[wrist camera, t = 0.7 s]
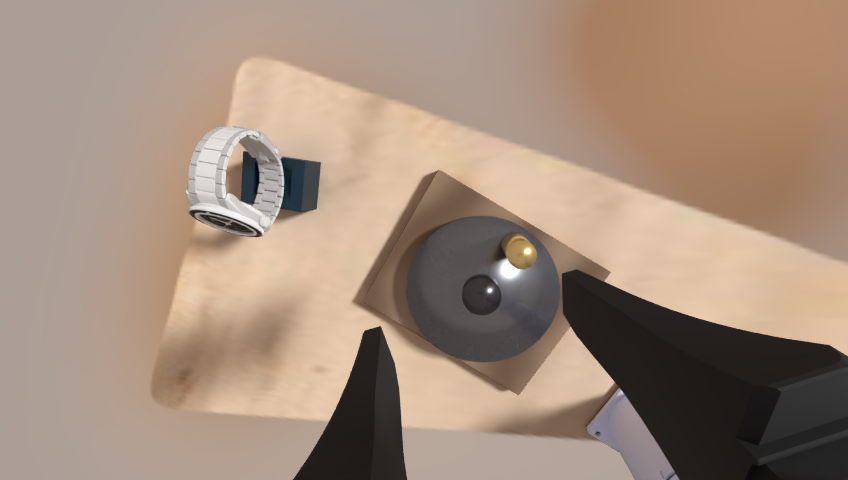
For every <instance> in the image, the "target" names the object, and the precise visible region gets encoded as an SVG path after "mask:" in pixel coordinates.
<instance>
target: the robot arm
mask: <svg viewBox="0 0 848 480" xmlns="http://www.w3.org/2000/svg"><path fill="white" fill-rule="evenodd" d="M562 301H563V315H564V316H565V318H566V320H567V321H568V323H569V324H570V326H571V328H572V329H573V331H574V332H575V334H576V335H577V337H578V338H579V339H580V340H581V342H582V343H583V344H584V345H585V346H586V348H587V349H588V350H589V351H590V353H591V354H592V355H593V356H594V357H595V359H596V360H597V361H598V362H599V363H600V365H601V366H602V367H603V368H604V369H605V371H606V372H607V373H608V374H609V375H610V377H611V378H612V379H613V380H614V381H615V383H616V384H617V385H618V386H619V389H618V390H617V391H616V392H615V393H614V395H613V396H612V397H611V398H610V399H609V401H608V402H607V403H606V404H605V406H604V407H603V408H602V409H601V410H600V412H599V413H598V414H597V415H596V416H595V418H594V419H593V420H592V421H591V423H590V424H589V425H588V426H587V431H588V433H589V434H590V435H591V436H593V437H595V438H596V439H598V440H600V441H601V442H603V443H605V444H606V445H608V446H610V447H611V448H613V449H615V450H617V451H618V452H620V453H621V455H622V457H623V459H624V460H625V462H626V464H627V466H628V468H629V469H630V471H631V473H632V475H633V477H634V478H635V480H848V356H846V355H845V354H843V353H841V352H840V351H838V350H836V349H835V348H833V347H831V346H830V345H824V344H818V343H811V342H805V341H798V340H792V339H785V338H779V337H774V336H769V335H764V334H759V333H754V332H749V331H745V330H740V329H736V328H732V327H728V326H724V325H720V324H716V323H712V322H708V321H705V320H702V319H698V318H695V317H692V316H689V315H685V314H682V313H679V312H676V311H673V310H670V309H667V308H665V307H662V306H659V305H657V304H654V303H652V302H649V301H647V300H644V299H642V298H639V297H637V296H635V295H632V294H630V293H628V292H625V291H623V290H621V289H619V288H616V287H614V286H612V285H610V284H608V283H606V282H604V281H601V280H599V279H597V278H595V277H593V276H591V275H589V274H586V273H584V272H582V271H580V270H577V269H576V270H572V271H569V272H565V273H562ZM596 432H599V433H596ZM293 480H407V476H406V470H405V463H404V453H403V441H402V425H401V409H400V394H399V386H398V380H397V374H396V369H395V363H394V361H393V358H392V355H391V353H390V350H389V347H388V344H387V342H386V339H385V336H384V334H383V331H382V328H381V326H379V327H376V328H373V329H369V330H366V331H364V333H363V336H362V340H361V343H360V347H359V350H358V354H357V357H356V360H355V363H354V365H353V368H352V371H351V374H350V377H349V379H348V382H347V384H346V386H345V389H344V391H343V393H342V396H341V398H340V400H339V403H338V405H337V407H336V409H335V411H334V413H333V415H332V417H331V419H330V421H329V423H328V425H327V427H326V428H325V430H324V432H323V434H322V435H321V437H320V439H319V441H318V442H317V444H316V446H315V447H314V449H313V451H312V452H311V454H310V455H309V457H308V459H307V460H306V462H305V463H304V465H303V466H302V467H301V469H300V470H299V472H298V473H297V475H296V476H295V478H294V479H293Z"/></svg>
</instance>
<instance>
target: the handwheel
mask: <svg viewBox="0 0 848 480" xmlns="http://www.w3.org/2000/svg"><path fill="white" fill-rule="evenodd" d="M406 295H407V302H408V307H409V310H410V313H411V316H412V318H413V320H414V322H415V324H416V325H417V327H418V328H419V330H420V331H421V333H422V334H423V335H424V336H425V337H426V338H427V339H428V340H429V341H430V342H431V343H432V344H433V345H434V346H436V347H437V348H439V349H440V350H442V351H443V352H445V353H447V354H449V355H451V356H454V357H456V358H459V359H463V360H467V361H472V362H495V361H501V360H505V359H509V358H511V357H514V356H517V355H518V354H520V353H522V352H524V351H526V350H527V349H529V348H530V347H532V346H533V345H534V344H535V343H536V342H537V341H538V340H540V339H541V337H542V336H543V335H544V334H545V333H546V331H547V330H548V328H549V327H550V325H551V324H552V321H553V319H554V317H555V315H556V312H557V308H558V305H559V298H560V283H559V276H558V272H557V269H556V266H555V264H554V261H553V259H552V257H551V255H550V254H549V252H548V251H547V249H546V248H545V247H544V245H543V244H542V243H541V242H540V241H539V240H538V239H537V238H536V237H535V236H534V235H533V234H532V233H530V232H529V231H528V230H526V229H525V228H523V227H522V226H520V225H518V224H516V223H514V222H512V221H509V220H506V219H503V218H499V217H494V216H484V215H482V216H470V217H464V218H461V219H457V220H454V221H452V222H450V223H448V224H445V225H444V226H442V227H441V228H439V229H437V230H436V231H435V232H434V233H432V234H431V235H430V236H429V237H428V238H427V239H426V240H425V241H424V242H423V244H422V245H421V247H420V248H419V249H418V251H417V252H416V254H415V256H414V258H413V260H412V262H411V265H410V268H409V271H408V276H407V283H406Z"/></svg>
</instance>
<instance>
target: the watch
mask: <svg viewBox="0 0 848 480" xmlns="http://www.w3.org/2000/svg"><path fill="white" fill-rule="evenodd" d="M238 142H239V143H240V144H241V145H242V146H243V147H244V148H245V149H246V150H247V151H248V152H245V151H243V170H242V191H241V201H240V200H238V199H237V198H236V197H235V196H234V195H232V194H229V193H228V194H227V196H226V188H225V185H222V184H225V182H226V172H225V171H224V170H226V169H227V165H228V161H229V158H228V157H230V156H231V154H232V151H233V149H234V147H235V146H236V144H237V143H238ZM195 151H196V152H194V153H193V155H192V159H191V161H190V164H191V165H190V167H189V173H188V178H189V180H188V188H187V190H186V195H187V199H188V202H189V204H190V206H191V207H190V208H189V210H188V213H189V214H190V215H191V216H192V217H194V218H195V219H197V220H198V221H200V222H202V223H204V224H207V225H209V226H212V227H214V228H217V229H220V230H223V231H226V232H229V233H233V234H237V235H242V236H248V237H261V236H263V234H264V232H268V231H269V229H270V227H271V226H270V225H272V224H273V222H274V220H275V219H276V217H277V215H278V213H279V210H280V209H286V210H292V211H298V212H304V211H309V210H313V209H317V199H318V187H319V176H320V165H321V162H315V161H308V160H302V159H296V158H289V157H283V156H281V155H280V153H279V151H278V149H277V148H276V147H275V145H274V144H273V143H272V141H271V140H270V139H269V138H268V137H267V136H266V135H264V134H263V133H262V132H261V131H259V130H255V129H250V128H244V127H226V126H222V127H218V128H215V129H213V130H211V132H209V133H207V134H206V135H205V136H204V137H203V138H202V140H201V141H200V142H199V143H198V145H197V146H196V148H195ZM202 162H203V163H202ZM209 163H210V164H209ZM215 164H216V165H215ZM194 165H195V166H194ZM219 169H220V170H219ZM199 176H200V177H199ZM205 177H206V178H205ZM211 178H213V179H211ZM191 179H193V180H191ZM247 203H250V204H253V206H251V205H249V204H247Z"/></svg>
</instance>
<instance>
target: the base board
mask: <svg viewBox="0 0 848 480" xmlns="http://www.w3.org/2000/svg"><path fill="white" fill-rule="evenodd" d="M482 215H484V216H494V217H499V218H503V219H506V220H509V221H512V222H514V223H516V224H518V225H520V226H522V227H523V228H525V229H526V230H528V231H529V232H530V233H532V234H533V235H534V236H535V237H536V238H537V239H538V240H539V241H540V242H541V243H542V244H543V245H544V247H545V248H546V249H547V251H548V252H549V254H550V255H551V257H552V259H553V261H554V264H555V266H556V269H557V272H558V276H559V283H560V298H559V305H558V308H557V312H556V315H555V317H554V319H553V321H552V324H551V325H550V327H549V328H548V330H547V331H546V333H545V334H544V335H543V336H542V337H541V339H540V340H538V341H537V342H536V343H535V344H534V345H533V346H532V347H530V348H529V349H527V350H526V351H524V352H522V353H520V354H518V355H517V356H514V357H511V358H509V359H505V360H501V361H495V362H472V361H467V360H463V359H459V358H457V359H459V360H461V361H462V362H464V363H466V364H467V365H469V366H471V367H472V368H474V369H476V370H477V371H479V372H481V373H482V374H484V375H486V376H487V377H489V378H491V379H492V380H494V381H496V382H497V383H499V384H501V385H502V386H504V387H506V388H507V389H509V390H511V391H512V392H514V393H516V394H517V395H519V394H520V393H521V391H522V390H523V389H524V387H525V386H526V385H527V383H528V382H529V381H530V379H531V378H532V377H533V375H534V374H535V373H536V371H537V370H538V369H539V367H540V366H541V365H542V363H543V362H544V361H545V359H546V358H547V357H548V355H549V354H550V353H551V351H552V350H553V349H554V347H555V346H556V345H557V343H558V342H559V341H560V339H561V338H562V337H563V335H564V334H565V333H566V331H567V330H568V329H569V327H570V324H569V323H568V321H567V320H566V318H565V316H564V315H563V301H562V273H565V272H569V271H572V270H576V269H577V270H580V271H582V272H584V273H586V274H589V275H591V276H593V277H595V278H597V279H599V280H601V281H605V279H606V278H607V277H608V275H609V274H610V273H611V272H610V271H608V270H606V269H605V268H603V267H602V266H600V265H598V264H597V263H595V262H593V261H592V260H590V259H588V258H586V257H585V256H583V255H581V254H580V253H578V252H576V251H575V250H573V249H571V248H570V247H568V246H566V245H565V244H563V243H561V242H560V241H558V240H556V239H555V238H553V237H551V236H550V235H548V234H546V233H545V232H543V231H541V230H539V229H538V228H536V227H534V226H533V225H531V224H529V223H528V222H526V221H524V220H523V219H521V218H519V217H518V216H516V215H514V214H513V213H511V212H509V211H508V210H506V209H504V208H503V207H501V206H499V205H498V204H496V203H494V202H493V201H491V200H489V199H487V198H486V197H484V196H482V195H481V194H479V193H477V192H476V191H474V190H472V189H471V188H469V187H467V186H466V185H464V184H462V183H461V182H459V181H457V180H456V179H454V178H452V177H451V176H449V175H447V174H446V173H444V172H442V171H440V170H438V172H437V173H436V175H435V177H434V179H433V180H432V182H431V184H430V185H429V187H428V189H427V191H426V192H425V194H424V196H423V198H422V199H421V201H420V203H419V205H418V206H417V208H416V210H415V211H414V213H413V215H412V217H411V218H410V220H409V222H408V224H407V225H406V227H405V229H404V231H403V232H402V234H401V236H400V237H399V239H398V241H397V243H396V244H395V246H394V248H393V250H392V251H391V253H390V255H389V257H388V258H387V260H386V262H385V263H384V265H383V267H382V269H381V270H380V272H379V274H378V276H377V277H376V279H375V281H374V283H373V284H372V286H371V288H370V289H369V291H368V293H367V295H366V296H365V298H364V300H363V302H364V303H366V304H368V305H369V306H371V307H373V308H374V309H376V310H378V311H379V312H381V313H382V314H384V315H386V316H387V317H389V318H391V319H392V320H394V321H396V322H397V323H399V324H401V325H402V326H404V327H406V328H407V329H409V330H411V331H412V332H414V333H416V334H417V335H419V336H421V337H422V338H424V339H426V340H427V341H429V340H428V339H427V338H426V337H425V336H424V335H423V334H422V333H421V331H420V330H419V328H418V327H417V325H416V324H415V322H414V320H413V318H412V316H411V313H410V310H409V307H408V302H407V295H406V283H407V276H408V271H409V268H410V265H411V262H412V260H413V258H414V256H415V254H416V252H417V251H418V249H419V248H420V247H421V245H422V244H423V242H424V241H425V240H426V239H427V238H428V237H429V236H430V235H431V234H432V233H434V232H435V231H436V230H437V229H439V228H441V227H442V226H444V225H445V224H448V223H450V222H452V221H454V220H457V219H461V218H464V217H470V216H482ZM429 342H430V341H429Z"/></svg>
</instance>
